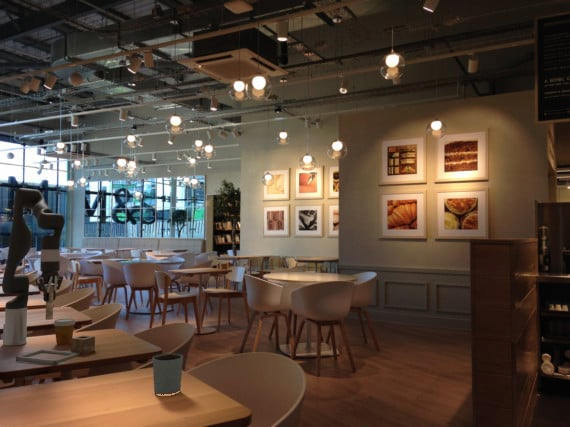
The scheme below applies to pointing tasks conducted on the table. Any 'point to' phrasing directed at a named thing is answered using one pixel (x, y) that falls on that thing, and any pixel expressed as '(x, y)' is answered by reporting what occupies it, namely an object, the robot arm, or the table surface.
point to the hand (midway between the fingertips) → (49, 300)
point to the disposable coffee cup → (64, 331)
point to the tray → (46, 361)
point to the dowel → (49, 305)
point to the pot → (83, 344)
